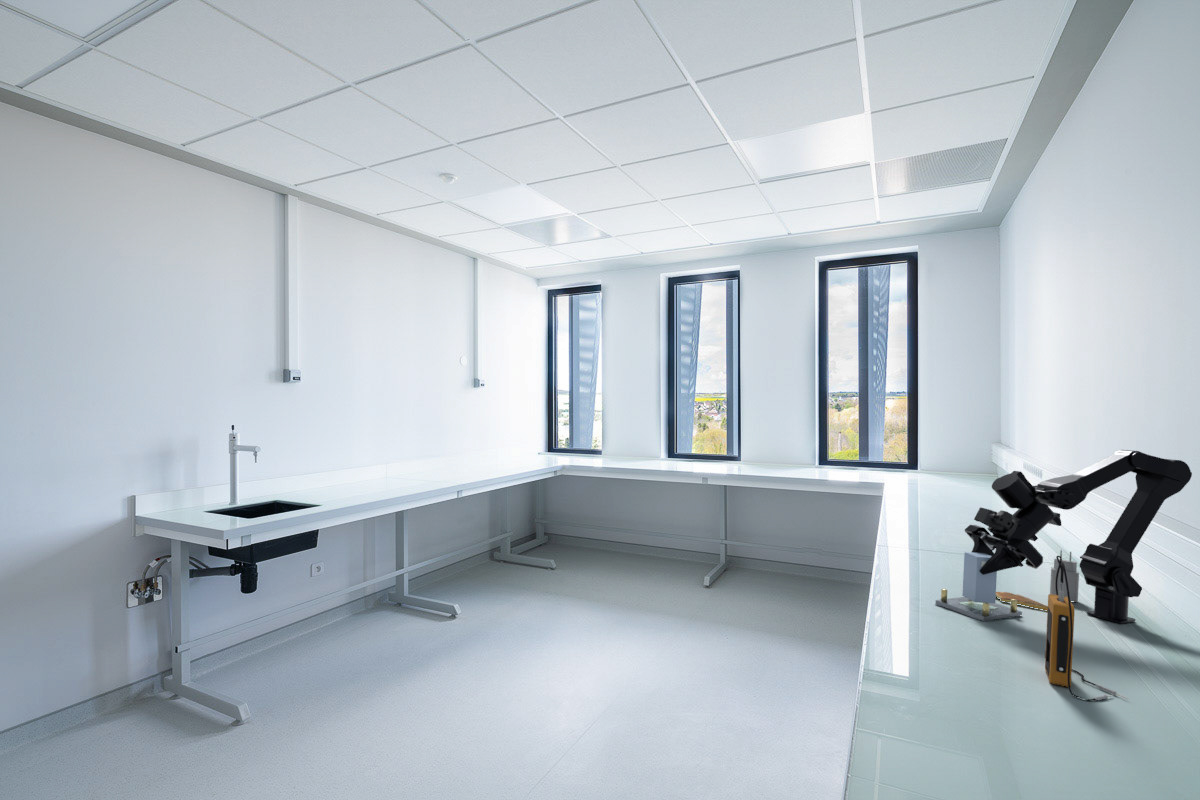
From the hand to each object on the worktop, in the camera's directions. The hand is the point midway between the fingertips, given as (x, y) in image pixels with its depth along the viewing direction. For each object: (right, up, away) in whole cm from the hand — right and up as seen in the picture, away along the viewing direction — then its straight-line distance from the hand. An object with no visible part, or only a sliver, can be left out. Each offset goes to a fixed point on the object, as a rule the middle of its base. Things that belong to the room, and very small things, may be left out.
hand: (973, 569), depth 132 cm
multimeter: (-5, -8, -37) cm, 38 cm away
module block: (+1, -7, 0) cm, 7 cm away
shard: (+16, -11, +8) cm, 21 cm away
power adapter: (+30, -11, +13) cm, 35 cm away
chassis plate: (+1, -9, 0) cm, 9 cm away
